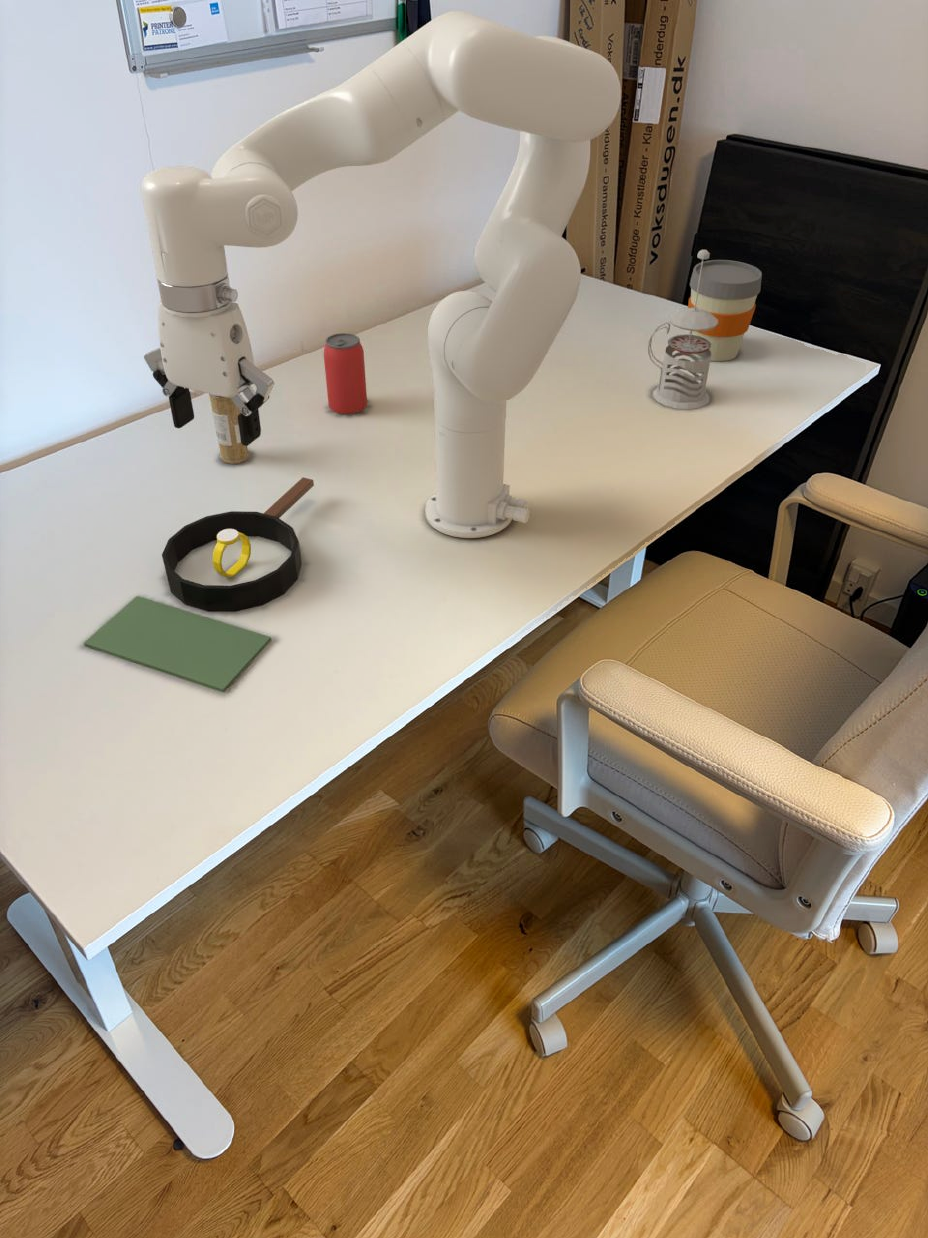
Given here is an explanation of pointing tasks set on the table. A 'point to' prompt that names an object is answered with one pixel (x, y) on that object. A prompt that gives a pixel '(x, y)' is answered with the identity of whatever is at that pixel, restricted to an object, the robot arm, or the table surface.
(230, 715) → the table surface
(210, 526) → the pan
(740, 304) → the reusable coffee cup
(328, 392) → the beer can
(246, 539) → the watch
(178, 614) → the mat
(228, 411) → the sprinkles bottle
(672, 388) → the french press
